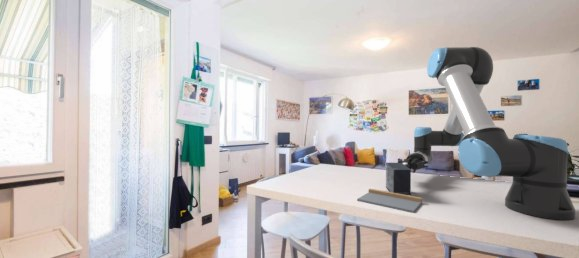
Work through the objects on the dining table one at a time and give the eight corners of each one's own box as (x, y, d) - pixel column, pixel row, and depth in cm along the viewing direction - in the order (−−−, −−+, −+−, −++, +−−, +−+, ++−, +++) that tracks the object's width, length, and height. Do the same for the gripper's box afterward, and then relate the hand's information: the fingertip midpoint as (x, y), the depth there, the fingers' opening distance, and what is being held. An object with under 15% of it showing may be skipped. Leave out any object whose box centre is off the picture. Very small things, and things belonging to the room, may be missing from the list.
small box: (412, 197, 88) (412, 169, 86) (393, 197, 88) (392, 169, 87) (402, 187, 98) (401, 161, 97) (385, 187, 99) (384, 162, 98)
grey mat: (422, 203, 82) (422, 197, 82) (413, 212, 74) (413, 206, 74) (370, 193, 94) (370, 188, 94) (357, 200, 85) (357, 195, 85)
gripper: (432, 170, 111) (418, 180, 93) (402, 166, 119) (384, 175, 102) (432, 154, 111) (418, 160, 93) (402, 151, 119) (384, 157, 102)
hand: (400, 168), depth 97 cm, fingers closed
